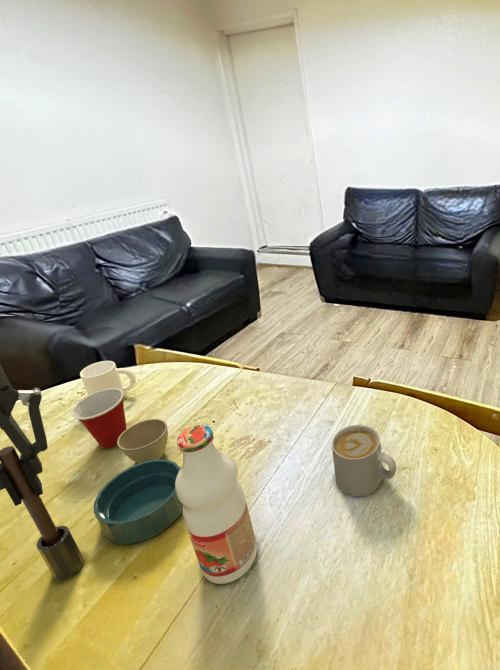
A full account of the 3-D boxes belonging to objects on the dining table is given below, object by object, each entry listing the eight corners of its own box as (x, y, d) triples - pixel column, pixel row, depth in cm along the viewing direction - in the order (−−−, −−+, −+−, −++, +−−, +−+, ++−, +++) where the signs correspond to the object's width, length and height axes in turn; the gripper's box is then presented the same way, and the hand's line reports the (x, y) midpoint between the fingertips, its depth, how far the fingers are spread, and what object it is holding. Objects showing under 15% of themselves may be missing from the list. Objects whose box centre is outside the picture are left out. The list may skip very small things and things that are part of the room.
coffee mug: (326, 483, 87) (321, 446, 83) (355, 453, 94) (352, 418, 90) (377, 512, 80) (375, 474, 76) (404, 478, 87) (403, 441, 83)
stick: (43, 546, 69) (-7, 455, 61) (53, 535, 71) (5, 445, 62) (54, 547, 69) (5, 456, 60) (64, 535, 70) (17, 446, 62)
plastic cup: (82, 441, 102) (65, 402, 97) (130, 420, 109) (116, 382, 104) (92, 464, 95) (74, 423, 90) (143, 439, 101) (129, 400, 97)
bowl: (84, 544, 76) (73, 522, 74) (135, 479, 90) (127, 458, 88) (162, 548, 75) (153, 525, 73) (202, 481, 89) (195, 460, 86)
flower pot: (158, 436, 102) (150, 413, 99) (183, 450, 97) (176, 427, 95) (117, 463, 95) (108, 439, 92) (142, 480, 90) (133, 455, 87)
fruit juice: (265, 563, 72) (235, 438, 60) (210, 598, 67) (165, 469, 55) (247, 525, 79) (217, 406, 67) (196, 553, 74) (154, 431, 62)
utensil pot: (47, 580, 70) (29, 549, 67) (67, 555, 75) (51, 524, 71) (71, 581, 70) (54, 550, 67) (90, 556, 74) (75, 525, 71)
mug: (142, 384, 123) (132, 355, 119) (137, 400, 116) (127, 369, 112) (96, 394, 120) (84, 364, 116) (88, 411, 113) (75, 380, 108)
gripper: (-128, 406, 48) (-37, 540, 58) (32, 358, 57) (88, 482, 67) (-116, 379, 54) (-34, 506, 63) (29, 339, 62) (81, 457, 72)
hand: (28, 494), depth 65 cm, fingers closed on stick, 2 cm apart
